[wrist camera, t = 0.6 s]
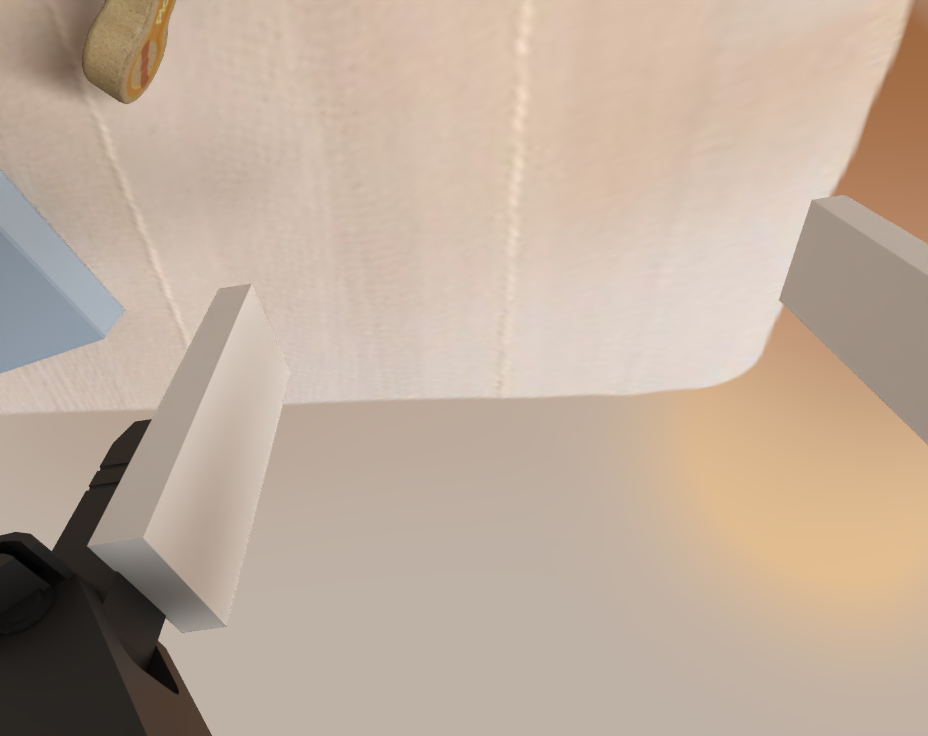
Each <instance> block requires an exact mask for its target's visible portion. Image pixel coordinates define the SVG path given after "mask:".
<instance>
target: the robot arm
mask: <svg viewBox="0 0 928 736" xmlns="http://www.w3.org/2000/svg"><path fill="white" fill-rule="evenodd" d="M779 300H780V301H781V302H782V303H783V304H784V305H785V306H786V307H787V308H788V309H789V310H790V311H791V312H792V313H793V314H794V315H795V316H796V317H797V318H798V319H799V320H800V321H801V322H802V323H803V324H804V325H805V326H806V327H807V328H808V329H809V330H810V331H811V332H812V333H814V335H815V336H817V337H818V338H819V339H820V340H821V341H822V342H823V343H824V344H825V345H826V346H827V347H828V348H829V349H830V350H831V351H832V352H833V353H834V354H835V355H836V356H837V357H838V358H839V359H840V360H841V361H842V362H843V363H844V364H845V365H846V366H847V367H848V368H850V370H852V372H853V373H854V374H856V375H857V376H858V377H859V378H860V379H861V380H862V381H863V382H864V383H865V384H866V385H867V386H868V387H869V388H870V389H871V390H872V391H873V392H874V393H875V394H876V395H877V396H878V397H879V398H880V399H881V400H882V401H883V402H884V403H885V404H886V405H887V406H888V407H889V408H890V409H892V411H894V412H895V413H896V414H897V415H898V416H899V417H900V418H901V419H902V420H903V421H904V422H905V423H906V424H907V425H908V426H909V427H910V428H911V429H912V430H913V431H914V432H915V433H916V434H917V435H918V436H919V437H920V438H921V439H922V440H923V441H924V442H925V443H926V444H928V244H926V243H925V242H923V241H921V240H920V239H918V238H917V237H915V236H913V235H911V234H910V233H908V232H906V231H905V230H903V229H901V228H900V227H898V226H896V225H895V224H893V223H891V222H890V221H888V220H886V219H884V218H883V217H881V216H879V215H878V214H876V213H874V212H873V211H871V210H869V209H867V208H866V207H864V206H863V205H861V204H859V203H857V202H855V201H854V200H852V199H851V198H849V197H847V196H846V195H841V196H835V197H828V198H821V199H815V200H812V201H811V204H810V207H809V210H808V213H807V216H806V219H805V222H804V225H803V229H802V232H801V235H800V238H799V241H798V244H797V247H796V250H795V253H794V256H793V259H792V262H791V265H790V268H789V271H788V274H787V277H786V280H785V283H784V286H783V289H782V292H781V295H780V298H779ZM290 374H291V372H290V370H289V368H288V366H287V363H286V361H285V359H284V356H283V354H282V352H281V350H280V347H279V345H278V343H277V341H276V338H275V336H274V334H273V332H272V329H271V327H270V325H269V323H268V320H267V318H266V316H265V313H264V311H263V309H262V307H261V304H260V302H259V300H258V298H257V295H256V293H255V291H254V289H253V286H252V284H248V285H241V286H234V287H228V288H221V289H219V290H218V292H217V294H216V295H215V297H214V299H213V301H212V303H211V305H210V307H209V309H208V311H207V313H206V315H205V317H204V319H203V321H202V323H201V325H200V327H199V329H198V331H197V333H196V334H195V336H194V338H193V340H192V342H191V344H190V346H189V348H188V350H187V352H186V354H185V356H184V358H183V360H182V362H181V364H180V366H179V368H178V370H177V372H176V373H175V375H174V377H173V379H172V381H171V383H170V385H169V387H168V389H167V391H166V393H165V395H164V397H163V399H162V401H161V403H160V405H159V407H158V409H157V411H156V413H155V415H154V416H153V419H150V420H143V421H137V422H134V423H133V424H132V425H131V426H130V427H129V428H128V429H127V430H126V431H125V432H124V433H123V434H122V435H121V436H120V437H119V438H118V439H117V440H116V441H115V442H114V443H113V444H112V446H111V448H110V449H109V451H108V453H107V455H106V456H105V458H104V460H103V462H102V464H101V465H100V471H97V473H96V474H95V476H94V478H93V479H92V481H91V483H90V485H89V487H90V489H89V491H86V492H85V494H84V496H83V497H82V499H81V501H80V503H79V504H78V506H77V508H76V510H75V511H74V513H73V515H72V517H71V518H70V520H69V522H68V524H67V526H66V527H65V529H64V531H63V533H62V535H61V536H60V538H59V540H58V541H57V543H56V545H55V547H54V549H53V550H52V551H50V550H49V549H48V548H47V547H46V546H45V545H43V544H42V543H41V542H40V541H39V540H37V539H36V538H35V537H34V536H33V535H31V534H28V533H20V532H13V533H9V534H5V535H1V536H0V736H212V735H211V733H210V731H209V729H208V727H207V725H206V723H205V722H204V720H203V718H202V716H201V714H200V712H199V710H198V708H197V706H196V705H195V703H194V701H193V699H192V697H191V695H190V693H189V691H188V689H187V687H186V686H185V684H184V682H183V680H182V678H181V676H180V674H179V672H178V670H177V668H176V667H175V665H174V663H173V661H172V659H171V657H170V655H169V653H168V652H167V649H166V648H165V647H164V646H163V645H162V644H161V643H160V642H159V641H158V638H159V635H160V632H161V629H162V626H163V623H164V621H165V618H166V619H167V620H168V621H170V622H171V623H172V624H173V625H174V626H175V627H176V628H177V629H178V630H179V631H180V632H182V633H185V632H192V631H199V630H206V629H213V628H219V627H226V626H227V623H228V620H229V616H230V612H231V608H232V603H233V600H234V596H235V592H236V588H237V584H238V580H239V576H240V572H241V568H242V564H243V560H244V556H245V552H246V548H247V544H248V540H249V536H250V532H251V528H252V524H253V520H254V516H255V512H256V508H257V504H258V500H259V496H260V493H261V489H262V485H263V480H264V476H265V473H266V469H267V465H268V461H269V457H270V453H271V448H272V445H273V441H274V437H275V433H276V429H277V425H278V421H279V417H280V413H281V409H282V405H283V401H284V397H285V393H286V389H287V385H288V381H289V377H290Z"/></svg>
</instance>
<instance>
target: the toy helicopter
mask: <svg viewBox="0 0 928 736" xmlns="http://www.w3.org/2000/svg"><path fill="white" fill-rule="evenodd" d="M175 2H176V0H105V3H104V5H103V7H102V8H101V10H100V12H99V14H98V15H97V17H96V18H95V20H94V22H93V24H92V26H91V28H90V30H89V33H88V36H87V39H86V42H85V45H84V50H83V56H82V67H83V71H84V74H85V76H86V78H87V79H88V80H89V81H90V82H91V83H92V84H94V85H95V86H97V87H98V88H100V89H101V90H103V91H104V92H106V93H107V94H109V95H110V96H112V97H113V98H115V99H116V100H118V101H119V102H122V103H124V104H129V103H131V102H134V101H135V100H137V99H138V98H139V97H140V96H141V95H142V94H143V93H144V91H145V90H146V89H147V88H148V86H149V84H150V83H151V81H152V80H153V78H154V76H155V74H156V72H157V70H158V68H159V66H160V63H161V61H162V58H163V55H164V51H165V47H166V43H167V35H168V23H169V19H170V15H171V13H172V10H173V8H174V5H175Z"/></svg>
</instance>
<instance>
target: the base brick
mask: <svg viewBox="0 0 928 736" xmlns="http://www.w3.org/2000/svg"><path fill="white" fill-rule="evenodd" d="M124 311H125V310H124V309H123V307H122V306H121V305H120V304H119V303H118V302H117V301H116V300H115V298H114V297H113V296H112V295H111V294H110V293H109V292H108V291H107V289H106V288H105V287H104V286H103V285H102V284H101V283H100V282H99V280H98V279H97V278H96V277H95V276H94V275H93V274H92V273H91V271H90V270H89V269H88V268H87V267H86V266H85V265H84V264H83V262H82V261H81V260H80V259H79V258H78V257H77V256H76V255H75V253H74V252H73V251H72V250H71V249H70V248H69V247H68V246H67V244H66V243H65V242H64V241H63V240H62V239H61V238H60V237H59V235H58V234H57V233H56V232H55V231H54V230H53V229H52V228H51V226H50V225H49V224H48V223H47V222H46V221H45V220H44V219H43V217H42V216H41V215H40V214H39V213H38V212H37V211H36V210H35V208H34V207H33V206H32V205H31V204H30V203H29V202H28V201H27V199H26V198H25V197H24V196H23V195H22V194H21V193H20V192H19V190H18V189H17V188H16V187H15V186H14V185H13V184H12V183H11V181H10V180H9V179H8V178H7V177H6V176H5V175H4V174H3V172H2V171H1V170H0V373H3V372H6V371H9V370H12V369H15V368H18V367H21V366H24V365H27V364H30V363H33V362H36V361H39V360H42V359H45V358H48V357H51V356H54V355H57V354H60V353H63V352H66V351H69V350H72V349H75V348H78V347H81V346H84V345H87V344H90V343H93V342H96V341H99V340H102V339H104V337H105V336H106V335H107V333H108V332H109V331H110V330H111V328H112V327H113V326H114V324H115V323H116V322H117V320H118V319H119V318H120V316H121V315H122V314H123V312H124Z"/></svg>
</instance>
